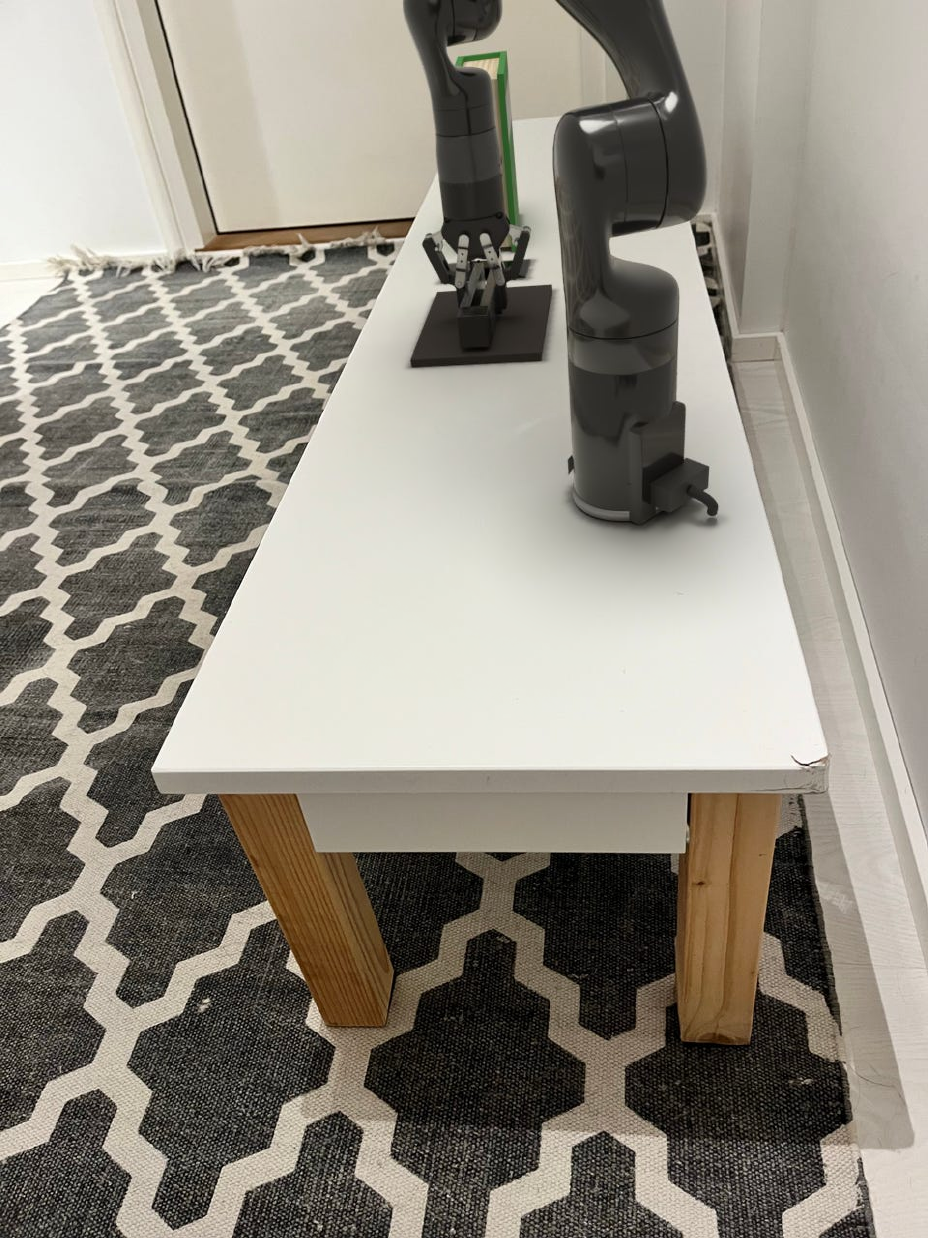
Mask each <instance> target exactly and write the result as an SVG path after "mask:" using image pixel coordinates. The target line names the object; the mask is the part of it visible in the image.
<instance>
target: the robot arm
mask: <svg viewBox="0 0 928 1238" xmlns="http://www.w3.org/2000/svg"><path fill="white" fill-rule="evenodd" d="M554 1H555V2H556V3H557V4H558V5H559V6H560V7H561V9H562V10H563V11H564V12H565V13H566V14H567V15H569V17H570V18H571V19H572V20H573V21H575V22H576V23H577V24H578V25H579V27H581V28H582V29H583V30H584V31H585V32H586V33H587V34H588V35H589V36H590V38H592V40H594V41H595V42H596V43H597V45H599V47H600V48H601V49H602V51H603V52H604V53H605V54H606V56H607V57H608V59H609V60H610V62H611V63H612V65H613V67H614V69H615V70H616V72H617V74H618V77H619V78H620V81H621V83H622V85H623V87H624V89H625V92H626V95H627V99H626V98H625V99H621V100H620V99H619V100H615V101H609V102H603V103H597V104H593V105H585V106H582V107H578V108H573V109H570V110H568V111H566V112H565V113H563V114H562V116H561V117H560V118H559V119H558V122H557V124H556V125H555V126H556V127H555V130H554V133H553V140H552V148H551V149H552V152H551V154H552V157H551V159H552V161H551V162H552V164H551V165H552V177H553V191H554V198H555V206H556V216H557V225H558V236H559V246H560V263H561V275H562V277H561V278H562V285H563V297H564V306H565V307H564V309H565V327H566V328H565V330H566V347H567V349H566V350H567V351H566V352H567V373H568V393H569V411H570V412H569V413H570V414H569V415H570V432H571V436H570V437H571V452H572V453H571V455H570V456H569V457H568V459H567V470H568V471H567V472H568V473H567V475H568V476H569V475H570V474H571V472H572V471H573V483H572V493H573V494H572V495H573V500H574V503H575V504H576V506H577V507H578V508H579V509H580V510H581V511H583V512H584V513H586V514H587V515H589V516H592V517H595V518H597V519H601V520H605V521H613V522H631V523H634V524H636V525H642V524H644V523H645V522H647V521H649V520H650V519H652V518H653V517H654V516H656V515H658V514H660V513H661V512H663V511H664V512H666V513H669V514H670V513H672V512H674V511H676V509H678V508H680V507H682V506H683V505H684V504H686V503H688V502H689V501H690V500H692V499H695V500H696V501H698V502H700V503H701V504H703V505H704V506H705V507H706V508H707V509H706V514H707V515H708V516H709V517H715V516H717V515H718V512H719V508H720V506H719V503H718V501H716V499H715V498H714V497H713V496H712V495H711V494H709V493H708V492H706V491H705V490H707V489H709V481H710V479H709V477H710V466H709V465H706V464H704V463H701V462H699V461H697V460H694V459H691V458H688V457H685V453H686V452H685V448H686V423H687V421H686V419H687V406H686V404H685V402H681V401H679V400H677V396H678V394H677V392H678V390H677V389H678V360H679V359H678V356H679V355H678V353H679V328H680V327H679V326H680V325H679V324H680V323H679V322H680V321H679V320H680V288H679V284H678V281H677V279H676V278H675V277H674V276H673V275H672V274H671V273H669V272H668V271H667V270H664V269H662V268H659V267H657V266H654V265H650V264H645V263H642V262H637V261H631V260H625V259H622V258H619V257H617V256H614V255H612V254H611V247H610V240H611V239H613V238H617V237H618V238H619V237H623V236H629V235H634V234H640V233H645V232H650V231H656V230H661V229H665V228H669V227H670V228H671V227H675V226H678V225H682V224H684V223H687V222H690V221H691V220H693V219H694V218H696V216H697V215H698V214H699V212H700V211H701V209H702V207H703V205H704V202H705V200H706V195H707V189H708V188H707V186H708V161H707V160H708V159H707V150H706V149H707V148H706V145H705V144H706V143H705V139H704V133H703V128H702V124H701V121H700V116H699V113H698V109H697V106H696V103H695V99H694V95H693V92H692V89H691V87H690V83H689V79H688V77H687V73H686V71H685V70H686V69H685V68H684V64H683V61H682V58H681V55H680V52H679V49H678V46H677V42H676V39H675V37H674V33H673V30H672V28H671V27H672V26H671V24H670V22H669V18H668V15H667V10H666V7H665V3H664V0H554ZM503 10H504V9H503V0H402V13H403V17H404V22H405V25H406V28H407V31H408V34H409V36H410V39H411V41H412V44H413V46H414V49H415V51H416V54H417V57H418V59H419V62H420V64H421V67H422V70H423V74H424V77H425V80H426V84H427V88H428V92H429V97H430V102H431V110H432V116H433V117H432V118H433V126H434V137H435V161H436V162H435V163H436V170H437V178H438V185H439V186H438V187H439V194H440V201H441V209H442V216H443V220H442V226H441V228H440V230H438V231H436V232H433V233H431V232H428V233H426V234H425V236H424V238H423V240H422V242H421V246H422V248H423V251H424V252H425V254H426V256H427V258H428V260H429V262H430V263H431V266H432V268H433V270H434V271H435V274H436V275H437V277H438V279H439V281H440V283H441V284H443V285H451V286H453V288H455V291H456V292H457V300H458V308H459V310H460V307H461V304H462V301H463V298H464V295H465V292H466V289H467V286H468V283H469V282H467V280H466V279H467V271H468V263H469V261H472V260H474V259H475V260H482V261H485V260H487V261H488V264H489V267H490V269H491V270H492V273H493V276H494V279H495V285H494V288H495V298H496V309H497V314H502V313H503V309H506V307H507V303H508V294H507V287H508V284H507V283H508V282H510V281H516V280H518V279H517V278H518V277H519V273H520V270H521V266H522V263H523V260H525V256H526V253H527V249H528V246H529V242H530V238H531V234H532V228H531V227H530V226H529V225H524V226H523V227H521V226H519V227H518V226H515V225H512V224H510V220H509V219H508V217H507V215H506V212H505V203H504V191H503V179H502V168H501V166H502V158H501V155H500V145H499V140H498V136H497V131H496V122H495V110H494V100H493V87H492V81H491V77H490V75H489V73H488V72H487V71H486V70H484V69H482V68H477V67H464V66H455V64H454V63H453V62H452V61H451V58H450V56H449V53H448V50H447V49H448V48H451V47H455V46H459V45H465V44H469V43H474V42H479V41H483V40H485V39H488V38H490V37H491V36H492V35H493V34H494V33H495V31H496V30H497V29H498V27H499V26H500V23H501V20H502V17H503ZM508 234H509V235H511V237H512V244H513V245H514V246H516V247H517V248H516V251H515V252H514V255H513V258H512V260H513V262H512V265H511V266H510V267H508V268H505V267H504V264H503V261H504V260H503V255H502V251H500V248H502V247H501V245H502V243H503V242H504V240H505V238H506V237H507V235H508ZM443 240H444V241H445V242H446V243H447V244H448V246H450V248H451V249H452V250H453V252H455V253H456V255H457V256H456V263H457V265H456V272H455V271H452V270H451V268H450V266H449V264H450V263H449V262H448V260H447V258H446V256H445V254H444V253H443V248H444V243H443Z"/></svg>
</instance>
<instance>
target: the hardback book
mask: <svg viewBox="0 0 928 1238" xmlns="http://www.w3.org/2000/svg"><path fill="white" fill-rule="evenodd" d="M454 66H464V67H477V68H482V69H484V70H486V71H487V72H488V73H489V75H490V77H491V81H492V87H493V100H494V110H495V122H496V131H497V136H498V140H499V145H500V155H501V158H502V166H501V168H502V179H503V191H504V203H505V212H506V215H507V217H508V219H509V220H510V224H512V225H515V226H518V227H520V207H519V193H518V182H517V181H518V180H517V167H516V156H515V155H516V154H515V142H514V130H513V128H514V127H513V115H512V102H511V89H510V76H509V63H508V51H507V50H502V51H501V50H500V51H492V52H484V53H477V54H476V53H475V54H469V55H459V56H457V58H456V60H455V64H454ZM509 247H510V248H511V253H515V251H516V248H517V247H516V246H514V245H513V244H512V237H511V235H509V234H508V235H507V237H506V238H505V240H504V242H503V243H502V245H501V247H500V248H509Z"/></svg>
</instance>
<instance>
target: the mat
mask: <svg viewBox="0 0 928 1238" xmlns="http://www.w3.org/2000/svg"><path fill="white" fill-rule="evenodd" d="M507 294H508V303H507V307H506V309H503V313H502V314H498V317H497V321H496V325H495V329H494V333H493V337H492V340H491V344H490V347H478V348H461V346H460V338H459V330H458V322H457V316H458V313H459V308H458V300H457V292H456V290H449V291H448V290H446V291H445V290H444V291H437V292H436V294H435V295H434V299H433V302H432V304H431V305H430V308H429V311H428V314H427V316H426V318H425V321H424V324H423V326H422V329H421V331H420V334H419V336H418V339H417V341H416V344H415V347H414V348H413V352H412V354H411V357H410V360H409V361H410V367H411V368H420V367H439V366H457V365H476V364H477V365H478V364H494V363H495V364H496V363H513V362H533V361H534V362H535V361H542V359H543V353H544V346H545V341H546V334H547V327H548V321H549V315H550V307H551V302H552V295H553V284H552V283H551V284H550V283H549V284H536V285H523V286H522V285H521V286H507Z"/></svg>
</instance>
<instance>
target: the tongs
mask: <svg viewBox="0 0 928 1238" xmlns="http://www.w3.org/2000/svg"><path fill="white" fill-rule="evenodd" d="M494 285H495V279H494V276H493V273H492V270H491V269H490V273H489V276H488V279H487V281H485V273H484V263H475V264H474V267H473V270H472V273H471V276H470V279H469V283H468V286H467V289H466V292H465V295H464V298H463V301H462V304H461V307H460V310H459V313H458V316H457V322H458V330H459V338H460V346H461V348H478V347H490V344H491V340H492V337H493V333H494V329H495V325H496V321H497V317H498V314H497V309H496V298H495V288H494Z"/></svg>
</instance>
